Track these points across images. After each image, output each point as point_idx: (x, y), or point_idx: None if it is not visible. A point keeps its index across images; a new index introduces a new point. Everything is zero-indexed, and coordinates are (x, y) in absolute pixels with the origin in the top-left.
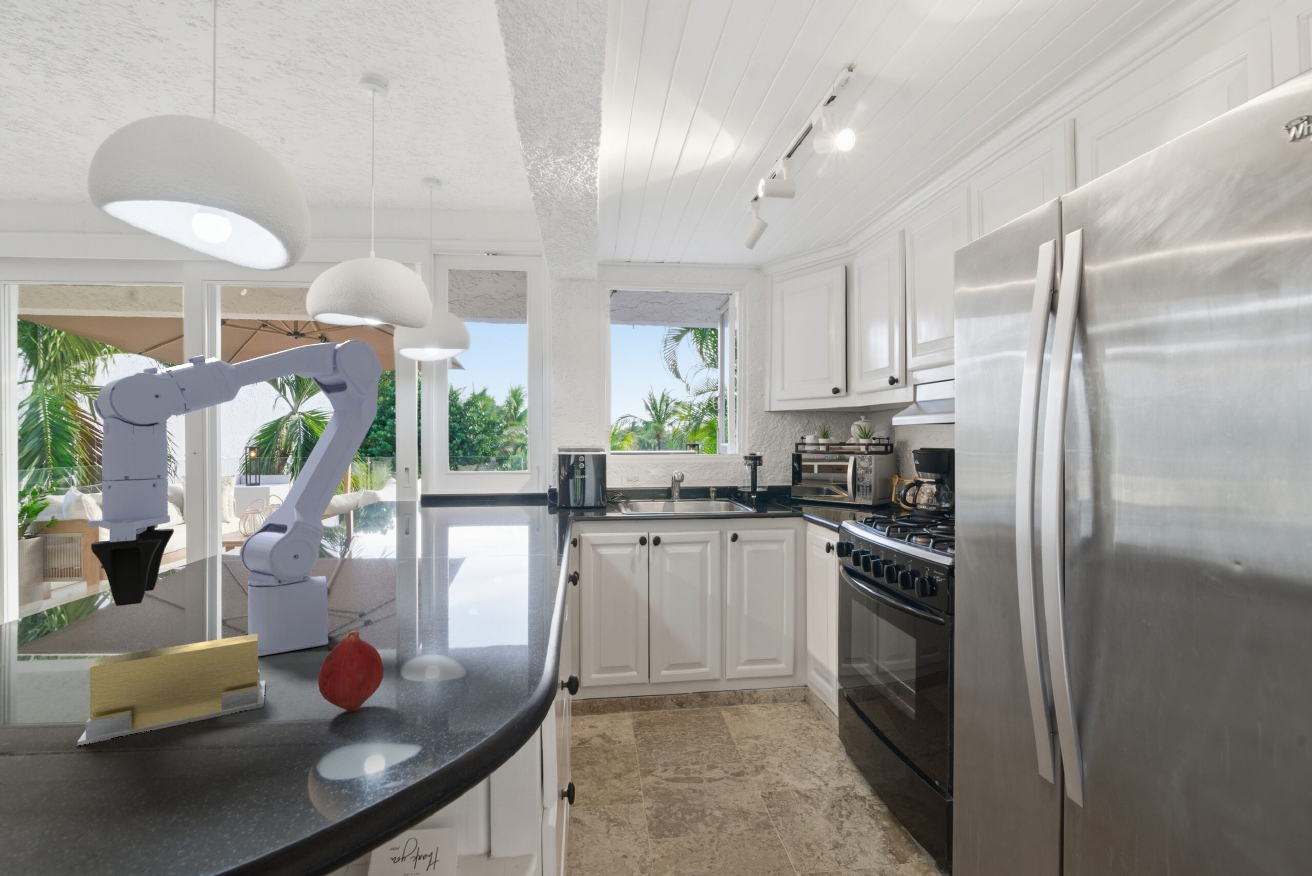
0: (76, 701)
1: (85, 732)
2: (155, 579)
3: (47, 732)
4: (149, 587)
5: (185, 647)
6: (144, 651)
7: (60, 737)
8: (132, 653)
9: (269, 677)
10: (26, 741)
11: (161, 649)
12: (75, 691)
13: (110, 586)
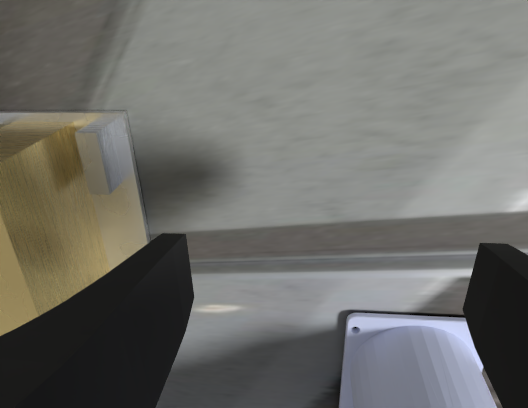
0: (262, 39)
1: (12, 115)
2: (479, 355)
3: (72, 36)
4: (472, 309)
5: (14, 320)
6: (10, 255)
7: (34, 69)
8: (3, 235)
9: (200, 337)
10: (35, 10)
11: (14, 283)
12: (357, 13)
13: (107, 273)
